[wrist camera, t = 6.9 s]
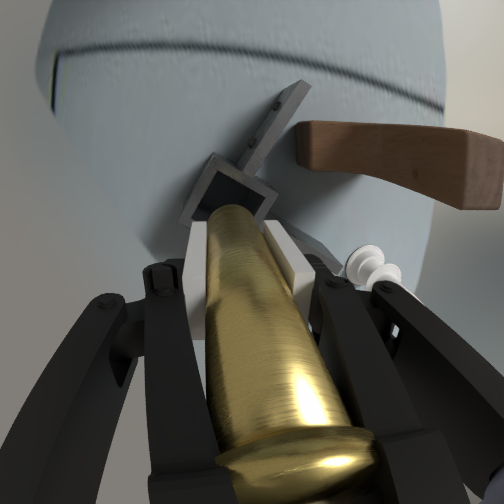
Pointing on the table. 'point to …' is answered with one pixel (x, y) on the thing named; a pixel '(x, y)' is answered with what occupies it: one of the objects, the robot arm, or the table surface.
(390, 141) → the wooden block
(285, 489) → the hinge pin
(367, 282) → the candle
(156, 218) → the table surface
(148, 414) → the robot arm
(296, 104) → the square tube bracket
